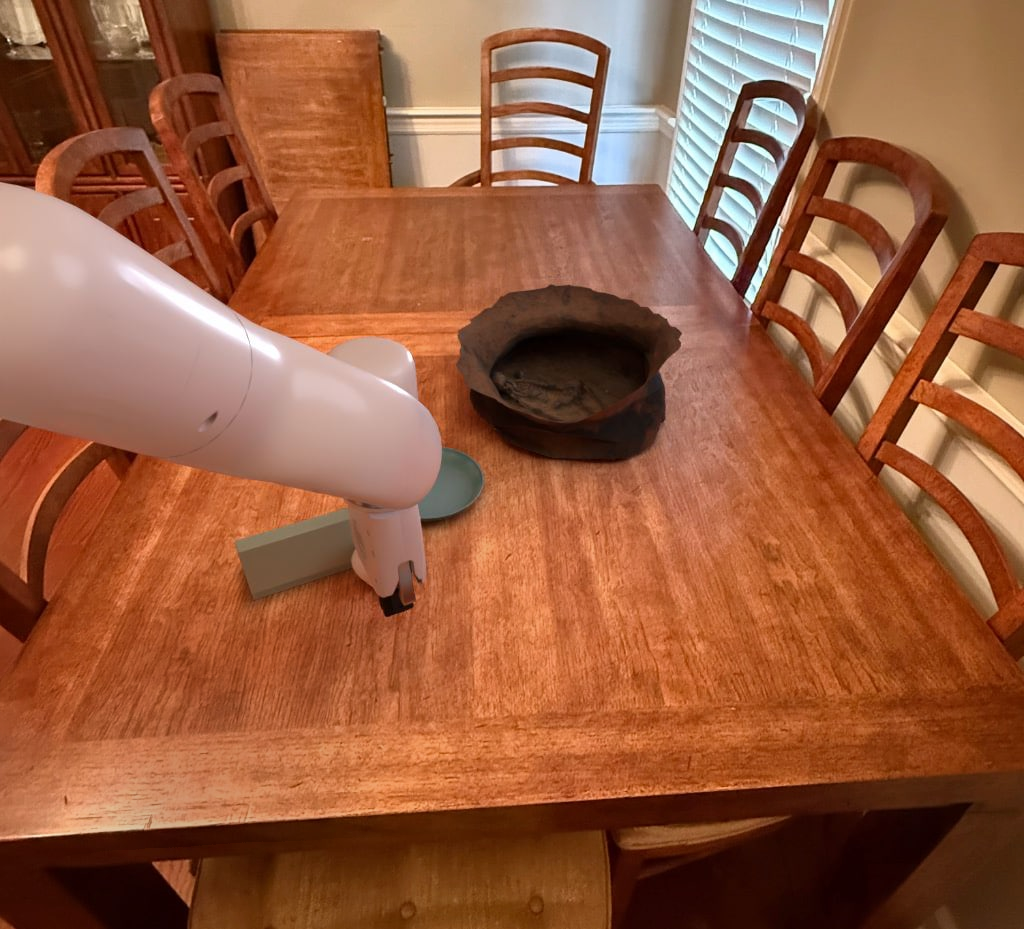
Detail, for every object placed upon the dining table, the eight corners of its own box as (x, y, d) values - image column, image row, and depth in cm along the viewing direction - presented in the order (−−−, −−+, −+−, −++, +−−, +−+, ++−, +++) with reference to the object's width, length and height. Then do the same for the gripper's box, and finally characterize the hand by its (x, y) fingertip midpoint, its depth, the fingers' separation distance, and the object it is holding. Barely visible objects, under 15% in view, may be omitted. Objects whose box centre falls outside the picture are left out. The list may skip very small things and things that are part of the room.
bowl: (663, 500, 97) (675, 418, 86) (436, 473, 103) (422, 393, 93) (676, 358, 121) (686, 280, 110) (491, 343, 127) (484, 268, 117)
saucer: (396, 453, 101) (394, 439, 99) (494, 468, 99) (494, 453, 97) (359, 522, 90) (356, 508, 88) (469, 540, 88) (469, 525, 86)
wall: (253, 600, 80) (237, 552, 75) (245, 571, 83) (229, 523, 78) (402, 551, 86) (396, 504, 81) (389, 526, 90) (383, 479, 85)
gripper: (318, 438, 66) (342, 571, 77) (365, 539, 56) (385, 675, 67) (394, 420, 69) (406, 551, 80) (451, 512, 58) (457, 648, 70)
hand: (397, 607), depth 73 cm, fingers closed
